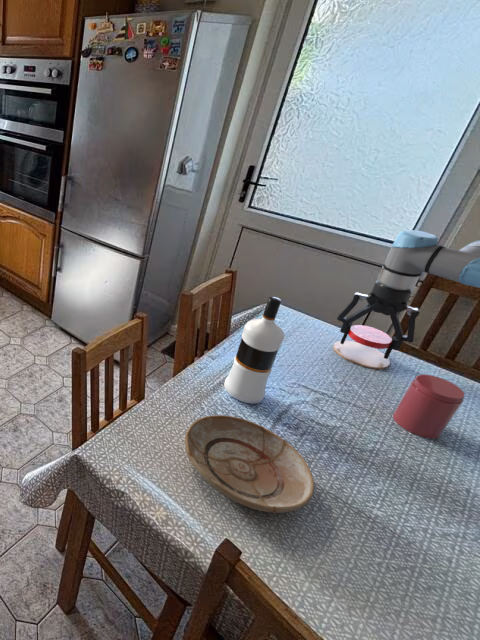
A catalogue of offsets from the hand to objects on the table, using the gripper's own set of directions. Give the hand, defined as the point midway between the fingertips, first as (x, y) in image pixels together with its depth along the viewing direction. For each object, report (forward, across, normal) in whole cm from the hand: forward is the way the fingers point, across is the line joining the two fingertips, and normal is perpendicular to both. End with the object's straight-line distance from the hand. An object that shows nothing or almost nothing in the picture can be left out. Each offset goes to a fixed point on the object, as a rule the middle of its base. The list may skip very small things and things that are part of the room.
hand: (363, 348), depth 124 cm
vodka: (+2, +20, +43) cm, 48 cm away
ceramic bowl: (+3, +13, +70) cm, 71 cm away
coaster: (+2, 0, 0) cm, 2 cm away
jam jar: (+2, -13, +25) cm, 28 cm away
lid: (-5, 0, 0) cm, 5 cm away
